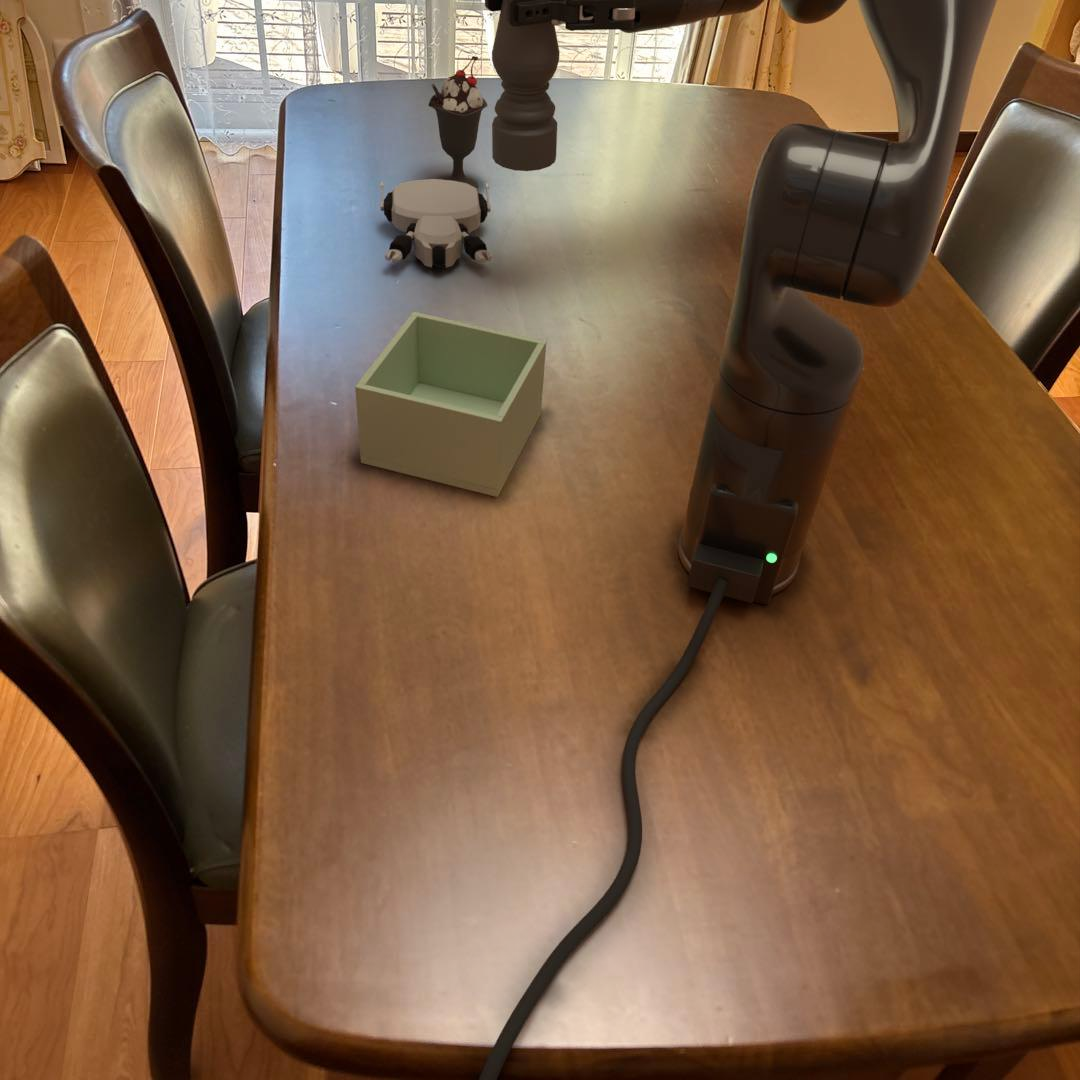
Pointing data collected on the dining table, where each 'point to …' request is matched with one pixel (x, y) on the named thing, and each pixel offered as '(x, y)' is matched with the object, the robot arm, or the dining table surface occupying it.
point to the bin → (451, 402)
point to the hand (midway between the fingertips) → (498, 4)
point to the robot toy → (436, 221)
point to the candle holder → (524, 95)
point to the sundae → (458, 119)
